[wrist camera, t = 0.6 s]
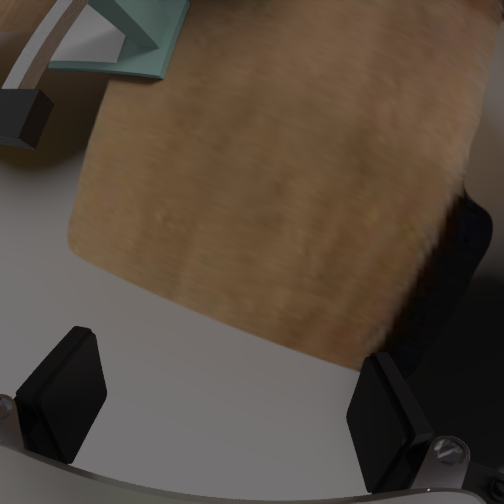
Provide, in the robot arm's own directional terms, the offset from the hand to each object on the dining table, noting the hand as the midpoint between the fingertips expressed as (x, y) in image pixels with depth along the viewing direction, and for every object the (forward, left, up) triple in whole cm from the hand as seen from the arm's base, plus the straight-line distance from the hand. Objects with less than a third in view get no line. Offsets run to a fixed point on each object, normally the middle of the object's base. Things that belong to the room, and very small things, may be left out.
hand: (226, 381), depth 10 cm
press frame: (-20, -23, -30) cm, 42 cm away
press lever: (-13, -16, -11) cm, 23 cm away
